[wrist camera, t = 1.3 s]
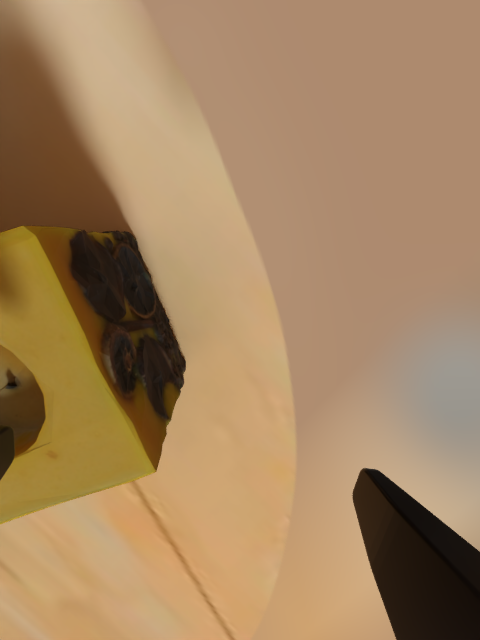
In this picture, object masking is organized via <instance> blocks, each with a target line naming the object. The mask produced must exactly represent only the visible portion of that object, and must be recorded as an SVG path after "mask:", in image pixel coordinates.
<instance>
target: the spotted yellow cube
mask: <svg viewBox="0 0 480 640" xmlns="http://www.w3.org/2000/svg"><path fill="white" fill-rule="evenodd" d="M168 323H169V319H168V318H167V316H166V314H165V312H164V309H163V307H162V305H161V303H160V302H159V299H158V296H157V294H156V292H155V290H154V286H153V284H152V282H151V275H150V274H149V273H148V272H147V270H146V269H145V267H144V263H143V260H142V256H141V254H140V253H139V251H138V245H137V241H136V239H135V238H134V237H133V236H132V235H131V234H130V233H129V232H126V231H124V232H119V231H111V232H103V233H98V232H89V233H86V232H85V230H84V231H82V230H79V229H72V228H63V227H50V226H20V227H17V228H14V229H10V230H7V231H4V232H1V233H0V425H7V426H11V427H12V428H13V430H14V442H15V456H14V460H13V462H12V464H11V465H10V467H9V468H8V470H7V471H6V473H5V474H4V476H3V477H2V479H1V480H0V524H3V523H5V522H8V521H11V520H13V519H16V518H19V517H22V516H25V515H28V514H31V513H33V512H36V511H39V510H42V509H45V508H48V507H51V506H54V505H57V504H60V503H63V502H66V501H69V500H73V499H76V498H79V497H82V496H85V495H89V494H92V493H95V492H99V491H102V490H105V489H109V488H112V487H115V486H119V485H122V484H125V483H129V482H132V481H134V480H137V479H139V478H142V477H145V476H147V475H150V474H152V473H155V472H156V470H157V467H158V463H159V460H160V456H161V452H162V444H163V442H164V439H165V437H166V435H167V433H166V427H167V425H168V424H169V422H170V421H171V417H172V413H173V409H174V406H175V403H176V401H177V399H178V397H179V396H180V393H181V391H180V389H181V388H182V387H183V384H184V378H183V374H184V372H185V369H186V362H185V359H184V358H182V357H181V353H180V351H179V349H178V343H177V341H176V340H175V338H174V337H173V334H172V331H171V328H170V326H169V324H168Z"/></svg>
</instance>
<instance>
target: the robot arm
mask: <svg viewBox="0 0 480 640" xmlns="http://www.w3.org/2000/svg"><path fill="white" fill-rule="evenodd" d="M14 456H15V442H14V430H13V428H12V427H11V426H7V425H0V480H1V479H2V477H3V476H4V474H5V473H6V471H7V470H8V468H9V467H10V465H11V464H12V462H13V460H14ZM353 503H354V506H355V510H356V514H357V518H358V522H359V525H360V529H361V533H362V536H363V540H364V544H365V547H366V552H367V556H368V559H369V562H370V566H371V569H372V572H373V575H374V578H375V581H376V583H377V586H378V589H379V592H380V594H381V598H382V600H383V603H384V606H385V609H386V612H387V614H388V617H389V620H390V623H391V626H392V628H393V631H394V633H395V637H396V639H397V640H480V552H479V551H478V550H477V549H476V548H474V547H473V546H472V545H471V544H469V543H468V542H467V541H466V540H464V539H463V538H462V537H461V536H459V535H458V534H457V533H456V532H455V531H453V530H452V529H451V528H450V527H448V526H447V525H446V524H444V523H443V522H442V521H441V520H439V519H438V518H437V517H436V516H435V515H433V514H432V513H431V512H430V511H428V510H427V509H426V508H425V507H423V506H422V505H421V504H420V503H418V502H417V501H416V500H415V499H413V498H412V497H411V496H410V495H409V494H407V493H406V492H405V491H404V490H402V489H401V488H400V487H399V486H397V485H396V484H395V483H394V482H392V481H391V480H390V479H389V478H387V477H386V476H385V475H384V474H382V473H381V472H380V471H378V470H375V469H367V468H364V469H362V470H361V471H360V473H359V476H358V479H357V482H356V484H355V487H354V490H353Z"/></svg>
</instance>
